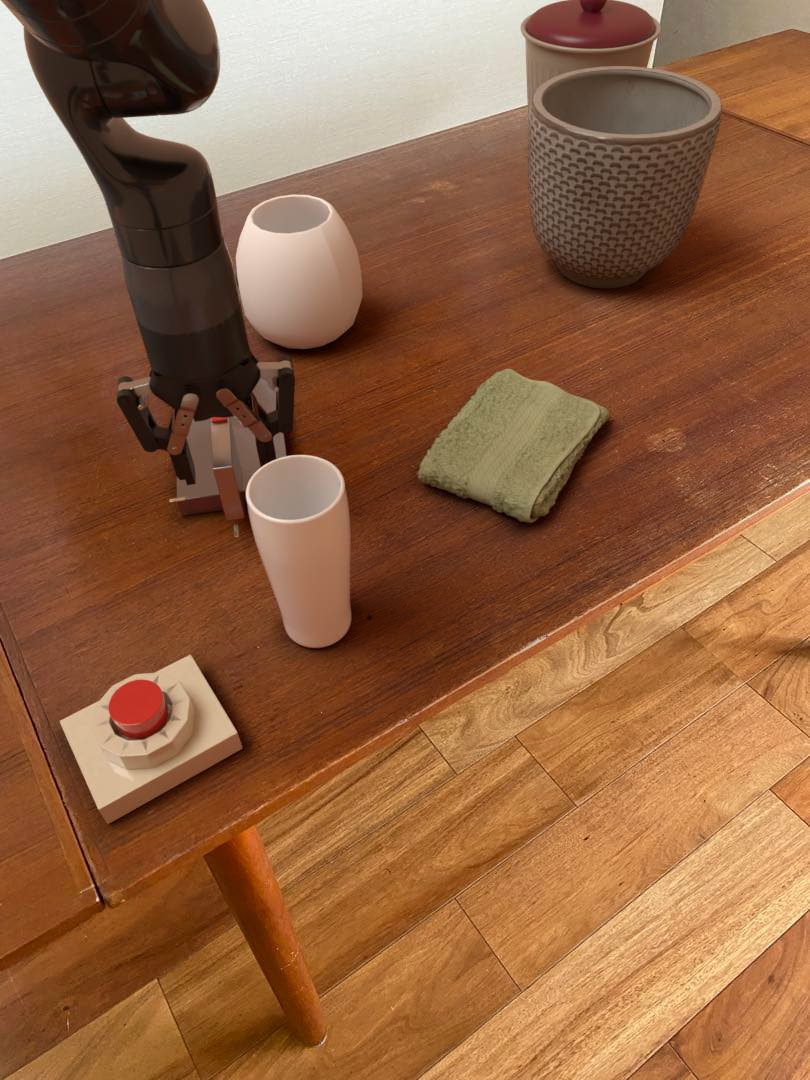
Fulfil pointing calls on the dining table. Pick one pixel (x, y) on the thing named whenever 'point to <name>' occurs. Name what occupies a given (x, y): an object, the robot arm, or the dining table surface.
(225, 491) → the spout
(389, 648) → the dining table surface
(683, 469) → the dining table surface
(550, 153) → the planter
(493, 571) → the dining table surface
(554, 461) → the washcloth
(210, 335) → the robot arm
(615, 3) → the canister
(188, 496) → the base
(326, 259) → the cup
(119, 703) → the button
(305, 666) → the dining table surface
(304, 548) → the drinking glass
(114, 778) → the button block
